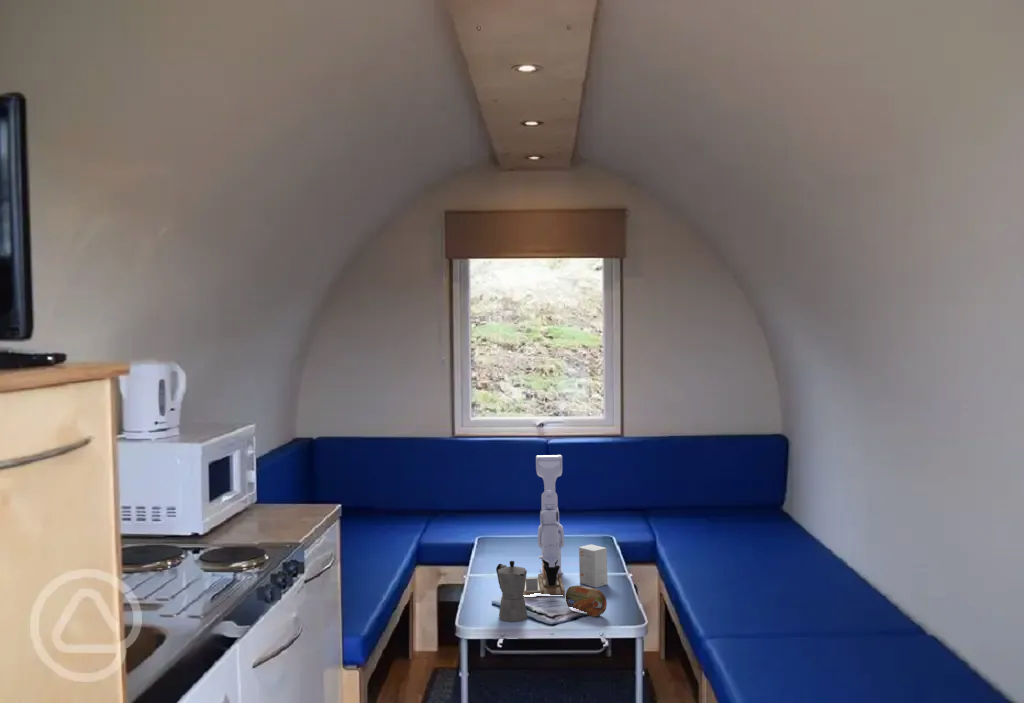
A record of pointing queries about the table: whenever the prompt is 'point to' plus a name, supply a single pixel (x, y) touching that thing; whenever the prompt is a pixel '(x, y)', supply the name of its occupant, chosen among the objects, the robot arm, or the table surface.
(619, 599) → the table surface
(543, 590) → the lane board
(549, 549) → the robot arm
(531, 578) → the strip
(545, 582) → the strip
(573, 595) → the tin
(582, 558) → the small box
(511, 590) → the coffeepot
